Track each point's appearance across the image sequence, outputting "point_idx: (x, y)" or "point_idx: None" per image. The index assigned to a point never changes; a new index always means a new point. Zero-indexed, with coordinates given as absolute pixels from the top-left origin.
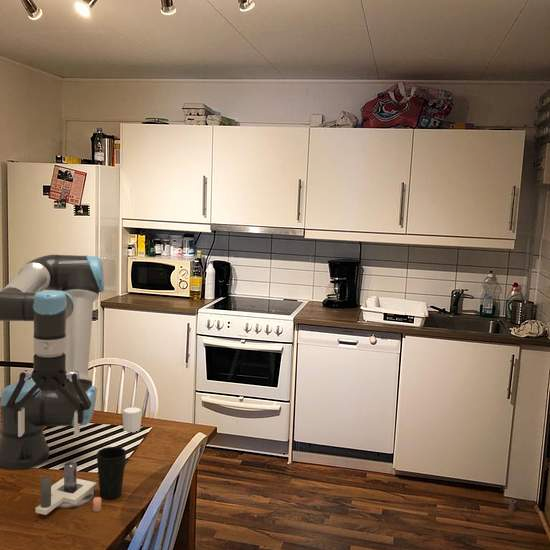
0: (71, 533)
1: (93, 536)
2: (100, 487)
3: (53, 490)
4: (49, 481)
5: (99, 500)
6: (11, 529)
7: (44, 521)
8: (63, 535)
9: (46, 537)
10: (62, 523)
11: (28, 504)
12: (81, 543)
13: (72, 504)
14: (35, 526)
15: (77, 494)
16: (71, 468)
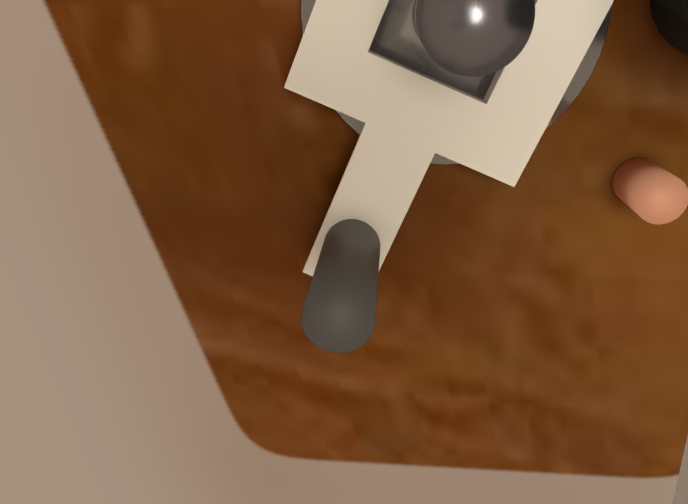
0: (519, 390)
1: (627, 416)
2: (682, 36)
3: (350, 60)
4: (369, 335)
5: (676, 217)
6: (231, 348)
7: None
8: (484, 403)
9: (410, 413)
10: (460, 308)
11: (226, 114)
12: (575, 461)
13: None
14: None
15: (520, 115)
16: (491, 72)
